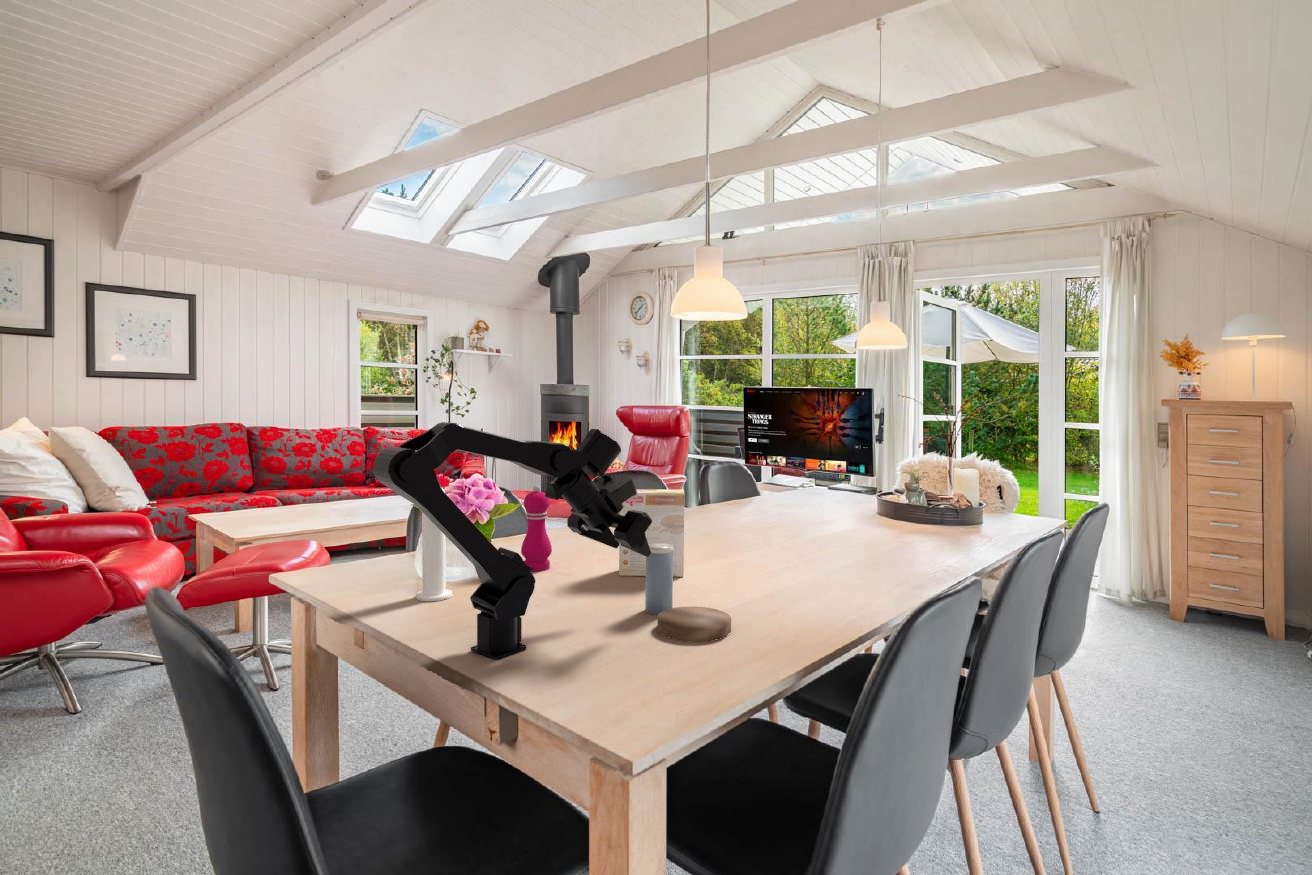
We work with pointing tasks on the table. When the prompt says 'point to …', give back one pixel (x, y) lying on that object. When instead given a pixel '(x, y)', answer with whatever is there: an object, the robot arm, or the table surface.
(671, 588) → the jar
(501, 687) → the table surface
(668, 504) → the coffeecake box
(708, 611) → the trivet
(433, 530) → the candle
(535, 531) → the pepper mill
